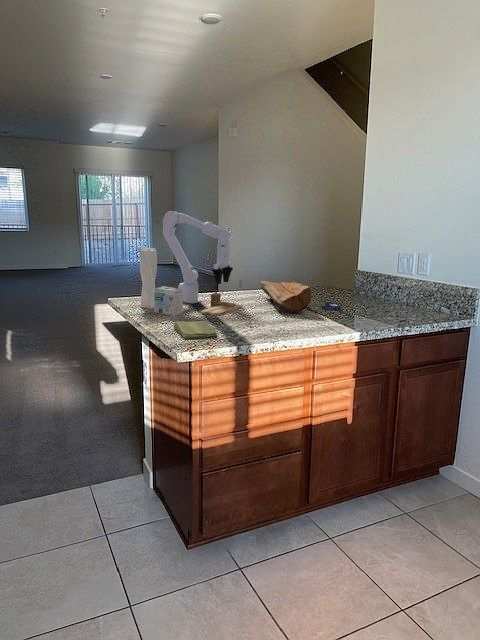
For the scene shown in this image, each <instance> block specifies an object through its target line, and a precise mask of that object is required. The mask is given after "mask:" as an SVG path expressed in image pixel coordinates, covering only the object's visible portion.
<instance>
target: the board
mask: <svg viewBox="0 0 480 640" xmlns="http://www.w3.org/2000/svg"><path fill="white" fill-rule="evenodd" d="M242 307H243V305H242V304H235V306H228V305H217V306H214V307H211V306H210V307H208V308H206V309H202V310H200V314H205V315H210V316H216V317H217V316H218V317H220V316H223V315H225V314H227V313H230V312H233V311H236V310H238V309H241V308H242Z"/></svg>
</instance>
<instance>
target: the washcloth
mask: <svg viewBox="0 0 480 640" xmlns="http://www.w3.org/2000/svg"><path fill="white" fill-rule="evenodd" d="M172 328H173V329H174V330H175V331H176V332H177V333H178V334H179V335H180V336H181V337H182V338H183V339H184V340H189V339H190V340H191V339H201V338H203V339H204V338H216V337H218V333H217V331H216V329H215V328H214V327H212V326H211V325H210V324H209V323H208V322H206V321H201V320H200V321H194V320H193V321H175V323H174V325H173V327H172Z"/></svg>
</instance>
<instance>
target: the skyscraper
mask: <svg viewBox="0 0 480 640" xmlns="http://www.w3.org/2000/svg"><path fill="white" fill-rule="evenodd" d="M139 247H140V256H139V272H140V278H141V283H142V286H141V294H140V295H141V297H140V308H147V309H154V295H155V288H156V284H155V283H156V282H155V281H156V278H157V270H158V254H157V249H156V248H154V247H145V246H144V245H143V244H140V245H139Z"/></svg>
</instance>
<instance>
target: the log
mask: <svg viewBox="0 0 480 640" xmlns="http://www.w3.org/2000/svg"><path fill="white" fill-rule="evenodd" d="M259 284H260V287H261V290H262V292H264V293H265V294H266V296H268V297H269V299H272V300H273V302H274V303H275V304H276V305H277V306H278V307H279V308H280V309H281V308H282V309H284V310H285V311H287V312H289V313H293V312H294V313H296V312H301V311H303V310H305V309H307V308H308V306H309V305H310V303H311V300H312V290H311V286H308V285H305V284H304V283H303V282H300V283H298V282H296V281H295V280H294V281H292V282H286V281H281V282H272V281H268V280H267V281H265V280H260V282H259Z"/></svg>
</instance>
